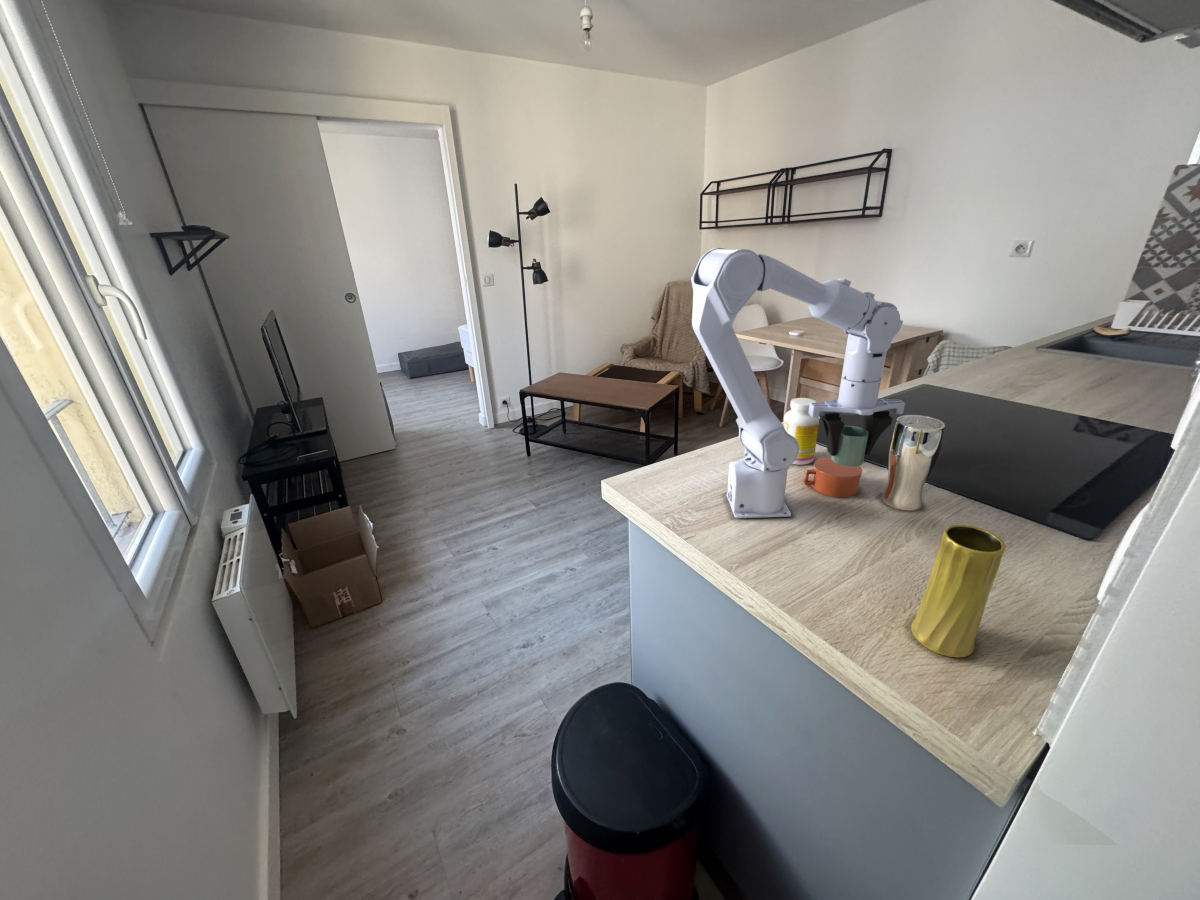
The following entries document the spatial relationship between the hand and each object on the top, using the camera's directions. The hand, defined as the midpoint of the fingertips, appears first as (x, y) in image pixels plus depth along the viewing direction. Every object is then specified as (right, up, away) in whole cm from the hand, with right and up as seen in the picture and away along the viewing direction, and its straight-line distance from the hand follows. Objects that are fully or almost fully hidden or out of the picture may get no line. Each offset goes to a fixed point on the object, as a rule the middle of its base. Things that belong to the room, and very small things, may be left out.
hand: (847, 452), depth 81 cm
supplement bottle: (-2, -2, +17) cm, 17 cm away
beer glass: (+9, -9, 0) cm, 13 cm away
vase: (-3, -22, -26) cm, 34 cm away
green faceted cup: (0, -1, +1) cm, 1 cm away
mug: (+1, -6, +6) cm, 9 cm away
